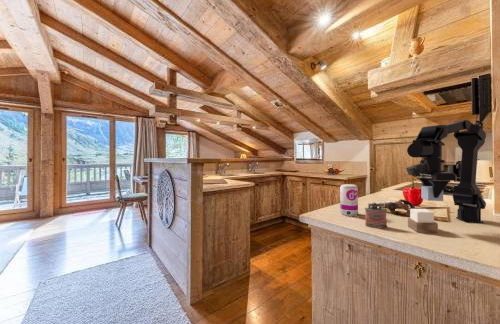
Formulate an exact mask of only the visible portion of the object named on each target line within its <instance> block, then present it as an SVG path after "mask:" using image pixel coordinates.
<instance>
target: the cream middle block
mask: <svg viewBox="0 0 500 324" xmlns="http://www.w3.org/2000/svg"><path fill="white" fill-rule="evenodd" d="M409 210H410V216H409V218H411V219H412V220H414V221H416V222H420V223H434V222H435V215H434V214H435V212H434V211H431V210H429V209H427V208H415V209H410V208H409Z"/></svg>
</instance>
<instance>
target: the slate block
mask: <svg viewBox="0 0 500 324" xmlns="http://www.w3.org/2000/svg"><path fill="white" fill-rule="evenodd" d="M420 191H421V195H420V196H421V197H420V198H421V199H422V200H425V201H428V202H432V201H435V202H443V201H444V190H443V191H442V192H441V194H440V195H439V197H438V198H434V194H433V187H432V186H423V185H422V186H421V189H420Z"/></svg>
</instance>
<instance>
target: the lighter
mask: <svg viewBox="0 0 500 324" xmlns="http://www.w3.org/2000/svg"><path fill="white" fill-rule="evenodd" d="M384 207H386V205H385V203H384V202H383V203H382V202H374V201H373V202H372V203H369V202H368V203H367V207H364V210H365V224H364V225H365V227H368V228H377V229H378V228H379V229H387V228H388V225H387V212H388V210H387V209H388V208H387V209H386V208H384Z"/></svg>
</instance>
